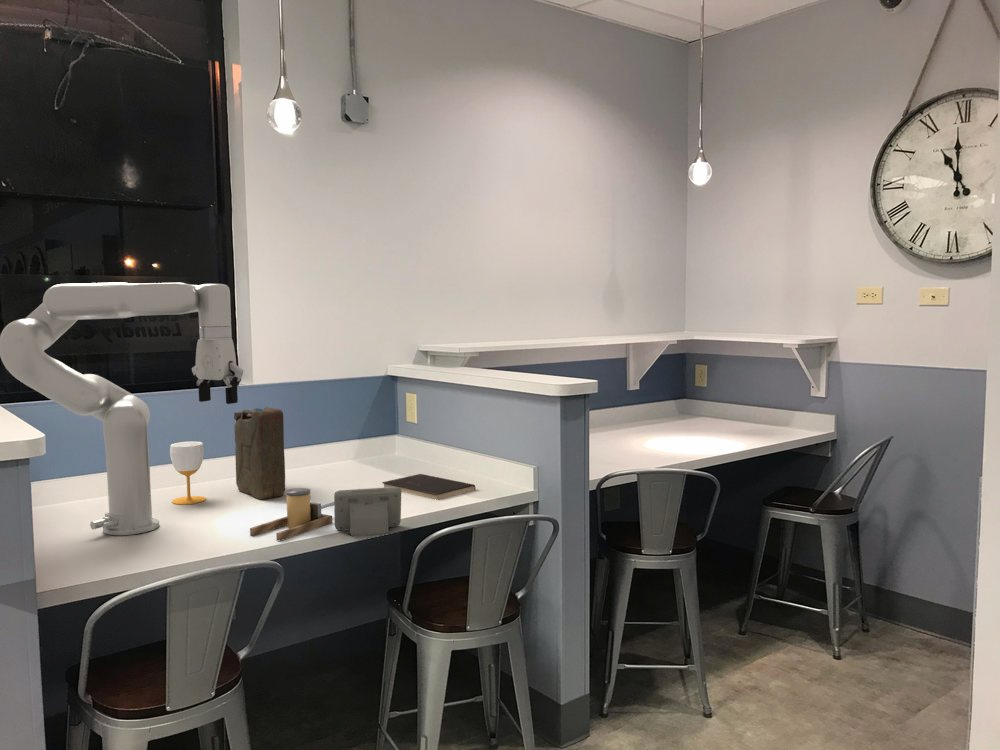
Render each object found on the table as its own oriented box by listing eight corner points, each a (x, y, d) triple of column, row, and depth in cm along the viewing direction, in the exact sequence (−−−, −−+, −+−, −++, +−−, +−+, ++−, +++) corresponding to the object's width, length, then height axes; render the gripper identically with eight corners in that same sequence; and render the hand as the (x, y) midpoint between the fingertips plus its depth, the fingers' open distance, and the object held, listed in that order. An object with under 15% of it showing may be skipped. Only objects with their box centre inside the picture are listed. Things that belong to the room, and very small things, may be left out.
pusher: (318, 524, 202) (317, 504, 201) (297, 520, 205) (296, 501, 205) (345, 514, 210) (345, 495, 210) (325, 511, 214) (324, 492, 214)
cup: (191, 505, 222) (189, 447, 221) (164, 503, 225) (161, 446, 224) (213, 498, 231) (211, 442, 229) (186, 495, 234) (184, 440, 232)
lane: (279, 541, 189) (279, 533, 189) (250, 535, 194) (249, 528, 193) (332, 522, 204) (332, 515, 204) (303, 517, 209) (303, 510, 209)
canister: (288, 496, 232) (285, 409, 230) (260, 501, 226) (257, 412, 224) (260, 485, 246) (257, 403, 244) (233, 490, 241) (230, 406, 238)
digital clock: (403, 525, 202) (402, 482, 201) (400, 535, 193) (399, 491, 192) (337, 526, 201) (336, 483, 200) (331, 536, 192) (330, 492, 191)
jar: (299, 531, 197) (298, 494, 196) (282, 527, 200) (280, 491, 199) (316, 525, 202) (315, 489, 201) (298, 522, 205) (297, 487, 204)
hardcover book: (436, 502, 227) (436, 494, 226) (382, 489, 242) (382, 482, 242) (475, 491, 239) (475, 484, 238) (421, 480, 254) (421, 473, 254)
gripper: (179, 333, 204) (182, 402, 205) (228, 335, 195) (230, 406, 196) (204, 332, 210) (206, 398, 212) (251, 333, 201) (254, 402, 203)
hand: (218, 402), depth 204 cm, fingers open, 9 cm apart
